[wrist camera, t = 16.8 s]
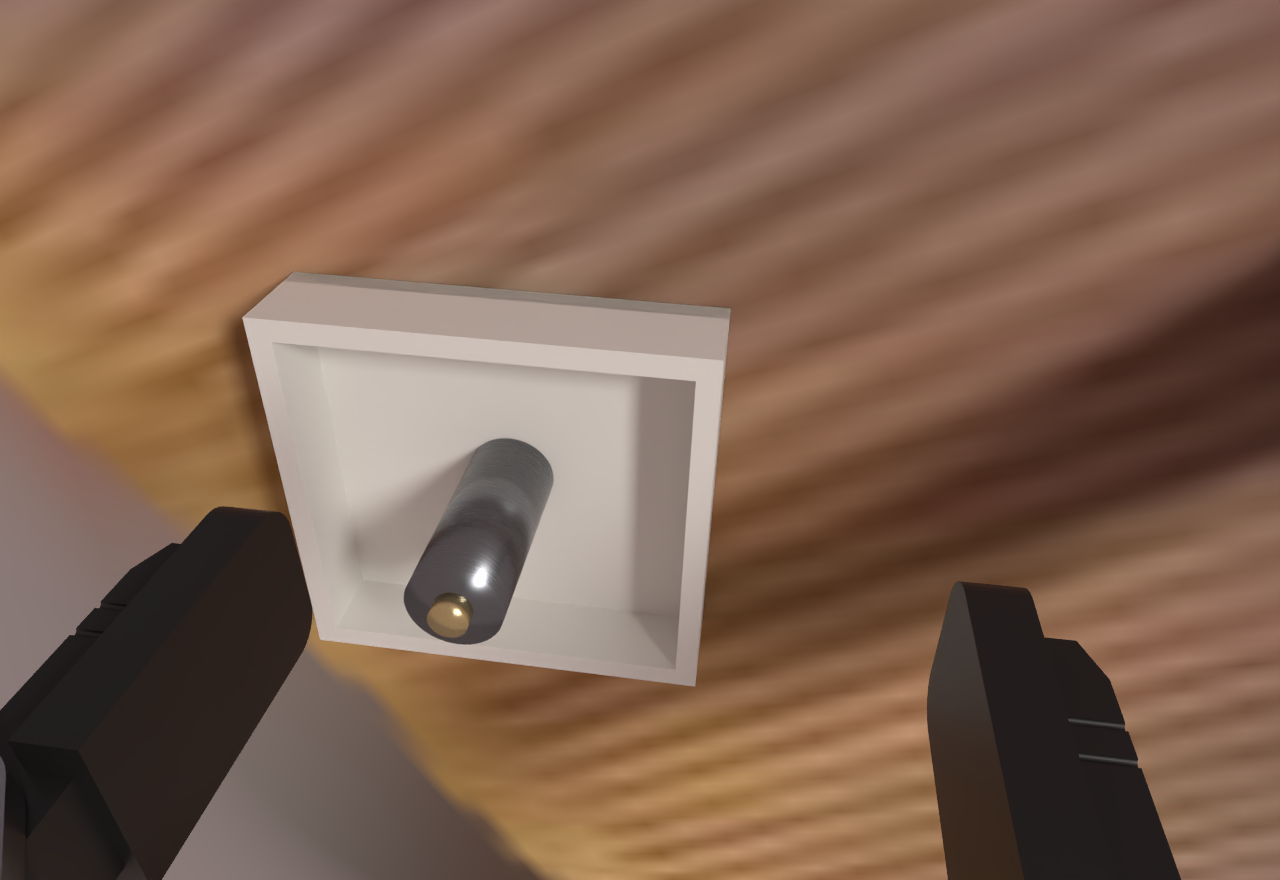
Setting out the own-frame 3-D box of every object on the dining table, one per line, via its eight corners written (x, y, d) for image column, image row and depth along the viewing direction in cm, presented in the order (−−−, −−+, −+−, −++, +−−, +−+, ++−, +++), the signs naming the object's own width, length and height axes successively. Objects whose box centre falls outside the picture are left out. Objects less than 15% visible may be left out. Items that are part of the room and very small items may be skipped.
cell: (552, 442, 42) (494, 590, 33) (554, 511, 44) (501, 665, 36) (467, 434, 42) (390, 578, 34) (474, 502, 44) (403, 653, 36)
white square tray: (730, 308, 38) (724, 360, 34) (702, 620, 48) (695, 686, 44) (293, 271, 40) (242, 317, 36) (355, 579, 50) (320, 639, 46)
